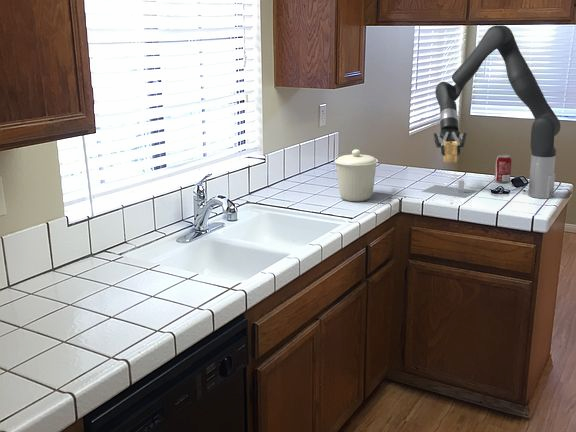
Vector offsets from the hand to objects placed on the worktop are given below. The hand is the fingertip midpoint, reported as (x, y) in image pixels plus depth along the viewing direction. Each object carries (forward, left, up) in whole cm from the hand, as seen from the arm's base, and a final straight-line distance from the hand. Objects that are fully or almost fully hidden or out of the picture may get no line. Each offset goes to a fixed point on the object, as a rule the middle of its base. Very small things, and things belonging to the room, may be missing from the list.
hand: (450, 154), depth 265 cm
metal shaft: (-5, -2, -16) cm, 17 cm away
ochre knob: (+1, -2, -3) cm, 4 cm away
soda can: (-10, -36, -18) cm, 41 cm away
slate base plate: (0, -2, -18) cm, 18 cm away
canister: (+30, +25, -18) cm, 43 cm away
